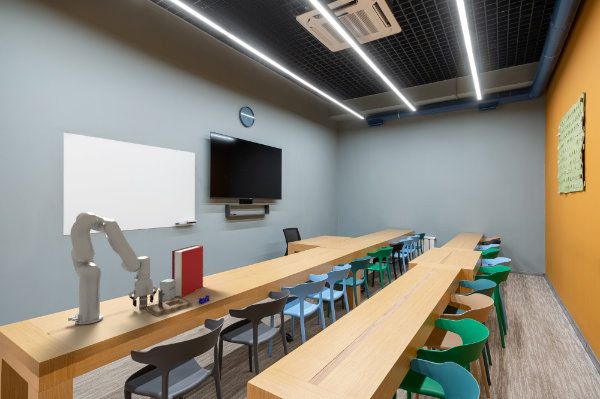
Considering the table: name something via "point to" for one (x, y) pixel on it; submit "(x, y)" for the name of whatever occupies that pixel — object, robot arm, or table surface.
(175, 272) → the book
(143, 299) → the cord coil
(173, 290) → the supplement box
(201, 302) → the cable holder
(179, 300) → the brown base with post
